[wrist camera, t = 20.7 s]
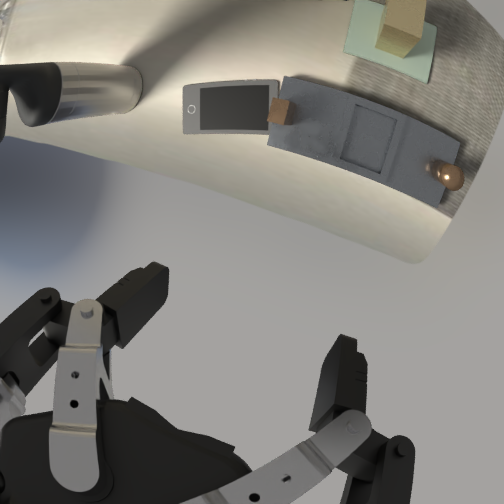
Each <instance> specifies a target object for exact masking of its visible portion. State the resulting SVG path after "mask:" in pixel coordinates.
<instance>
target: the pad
mask: <svg viewBox="0 0 504 504" xmlns="http://www.w3.org/2000/svg"><path fill="white" fill-rule="evenodd" d="M384 6H385V5H382V4H379V3H376V2H372V1H369V0H355V3H354V7H353V12H352V16H351V21H350V25H349V29H348V34H347V38H346V42H345V46H344V50H343V53H347V54H350V55H353V56H357V57H360V58H363V59H366V60H369V61H372V62H374V63H377V64H380V65H383V66H385V67H388V68H391V69H393V70H396V71H398V72H400V73H403V74H405V75H408V76H410V77H412V78H414V79H417V80H419V81H421V82H423V83H425V84H427V82H428V77H429V72H430V67H431V62H432V57H433V51H434V45H435V39H436V32H437V27H436V26H434V25H431V24H429V23H427V22H425V21H424V24H423V31H422V37H421V39H420V41H419V42H418V43H417V44H416V45H415V46H414V47H413V48H412V49H411V50H410V51H409V52H408V54H407V55H406V56H405V57H404V58H403V59H402V58H400V57H398V56H395V55H392V54H390V53H387V52H385V51H382V50H379V49H376V48H375V44H376V40H377V35H378V30H379V25H380V20H381V15H382V12H383V9H384Z"/></svg>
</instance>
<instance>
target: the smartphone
mask: <svg viewBox="0 0 504 504" xmlns="http://www.w3.org/2000/svg"><path fill="white" fill-rule="evenodd" d="M273 97H275V98H278V81H276V80H257V79H254V80H242V81H224V82H211V83H201V84H192V85H186V86H184V87H183V133H184V134H262V135H270V131H271V126H272V122H269V121H267V118H268V114H269V110H270V106H271V102H272V98H273Z"/></svg>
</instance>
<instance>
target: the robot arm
mask: <svg viewBox="0 0 504 504" xmlns="http://www.w3.org/2000/svg"><path fill="white" fill-rule="evenodd" d="M9 90H10V91H11V93H12V94H13V96H14V99H15V102H16V105H17V109H18V113H19V116H20V118H21V120H22V122H23V123H24V124H25V125H27V126H29V127H35V126H40V125H45V124H50V123H55V122H60V121H66V120H72V119H79V118H86V117H94V116H103V115H113V114H123V113H127V112H129V111H130V110H131V109H133V108H134V106H135V105H136V104H137V102H138V101H139V98H140V96H141V92H142V78H141V75H140V73H139V72H138V70H137V69H135V68H134V67H130V66H123V65H114V64H101V63H81V62H46V63H30V64H12V65H0V142H1V141H2V140H3V138H4V135H5V129H6V115H7V103H8V93H9V92H8V91H9ZM168 285H169V269H168V267H166V266H164V265H161V264H159V263H157V262H151V263H150V264H149V265H148V266H147V267H145V268H144V269H143V268H137V269H135V270H132V271H130V272H129V273H128V274H126V275H125V276H124V277H123V278H121V279H120V280H119V281H118V282H117V283H115V284H114V285H113V286H112V287H110V288H109V289H108V290H107V291H105V292H104V293H103V294H102V295H100V296H99V297H98V298H97V299H96V300H92V299H84V300H80V301H78V302H77V303H76V304H74V303H70V302H67V301H64V300H61V298H60V294H59V292H58V291H57V290H56V289H54V288H43V289H40V290H39V291H37V292H36V293H35V294H34V295H33V296H31V297H30V298H29V299H28V300H26V301H25V302H24V303H23V304H22V305H21V306H19V308H17V309H16V310H15V311H14V312H13V313H12V314H10V315H9V316H8V317H7V318H6V319H5V320H4V321H3V322H2V323H1V324H0V504H290V503H291V502H293V501H294V500H296V499H297V498H299V497H300V496H302V495H303V494H304V493H306V492H307V491H308V490H310V489H311V488H312V487H314V486H315V485H317V484H318V483H319V482H321V481H322V480H323V479H324V478H326V477H327V476H328V475H329V474H330V473H331V472H332V470H333V469H334V468H335V467H336V468H338V469H340V470H341V471H343V472H345V473H347V474H348V476H347V480H346V484H345V488H344V491H343V495H342V499H341V502H340V504H410V498H411V491H412V483H413V474H414V463H415V447H414V445H413V443H412V442H411V440H410V439H408V438H407V437H405V436H401V435H397V436H394V437H392V438H391V439H389V438H387V437H385V436H383V435H382V434H380V433H378V432H376V431H375V430H374V429H372V425H371V422H370V420H369V418H368V417H367V416H366V396H367V384H366V383H367V365H368V364H367V361H366V359H365V356H364V354H362V353H359V352H357V339H355V338H351V337H348V336H345V335H343V334H340V335H339V336H338V338H337V340H336V341H335V343H334V345H333V346H332V348H331V349H330V351H329V353H328V354H327V356H326V358H325V360H324V362H323V365H322V368H321V374H320V379H319V384H318V389H317V394H316V399H315V404H314V408H313V413H312V417H311V422H310V426H309V431H313V432H316V434H315V435H313V436H312V437H310V438H309V439H307V440H306V441H303V442H301V443H299V444H298V445H296V446H295V447H293V448H292V449H290V450H289V451H287V452H285V453H284V454H282V455H281V456H279V457H277V458H276V459H274V460H272V461H271V462H269V463H267V464H266V465H264V466H262V467H260V468H258V469H257V470H255V471H252V470H251V468H250V467H249V466H248V464H247V463H246V462H245V461H244V460H242V459H241V458H240V457H239V456H237V455H236V454H235V453H233V451H234V449H235V446H232V445H230V444H227V443H225V442H222V441H220V440H217V439H215V438H212V437H210V436H206V435H202V434H196V433H192V432H187V431H182V430H179V429H177V428H175V427H174V426H173V425H172V424H170V423H169V422H168V421H167V420H166V419H164V418H163V417H162V416H161V415H160V414H159V413H158V412H157V411H155V410H154V409H152V408H150V407H149V406H147V405H145V404H143V403H141V402H140V401H138V400H136V399H135V398H133V397H131V398H130V399H129V401H128V402H126V401H122V400H115V399H114V395H113V390H112V376H111V375H112V374H111V348H112V347H113V346H114V345H116V346H118V347H120V348H121V349H123V348H124V347H125V346H126V345H127V344H128V343H129V342H130V340H131V339H132V338H133V337H134V336H135V335H136V334H137V333H138V332H139V331H140V330H141V329H142V327H143V326H144V325H145V324H146V323H147V322H148V321H149V320H150V319H151V318H152V317H153V316H154V314H155V313H156V312H157V311H158V310H159V309H160V308H161V307H162V306H163V305H164V303H165V301H166V299H167V296H168ZM42 328H43V330H44V332H43V333H42V334H41V335H40V336H39V337H38V338H37V339H36V340H35V341H34V342H33V343H32V344H31V345H30V346H29V347H28V345H29V342H30V340H31V339H32V338H33V337H34V336H35V335H36V334H37V333H38V332H39V331H40V330H41V329H42ZM56 361H57V369H56V378H55V388H54V389H55V390H54V403H53V411H48V412H43V413H37V414H31V415H24V416H21V415H23V414H24V413H25V403H26V400H25V397H26V396H27V395H28V393H29V392H30V391H31V390H32V389H33V387H34V386H35V385H36V384H37V383H38V381H39V380H40V379H41V378H42V377H43V376H44V375H45V373H46V372H47V371H48V370H49V369H50V368H51V367H52V365H53V364H54V363H55V362H56Z"/></svg>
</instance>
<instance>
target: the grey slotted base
mask: <svg viewBox="0 0 504 504" xmlns="http://www.w3.org/2000/svg"><path fill="white" fill-rule="evenodd" d="M267 121H269V122H272V126H271V131H270V135H269V139H268V143H267V145H269V146H272V147H276V148H279V149H283V150H286V151H290V152H293V153H297V154H300V155H303V156H306V157H309V158H313V159H316V160H319V161H322V162H325V163H328V164H331V165H333V166H336V167H339V168H342V169H345V170H348V171H350V172H353V173H356V174H358V175H361V176H364V177H366V178H369V179H371V180H374V181H376V182H379V183H381V184H384V185H386V186H389V187H391V188H393V189H396V190H398V191H400V192H403V193H405V194H407V195H410V196H412V197H414V198H416V199H418V200H421V201H423V202H425V203H427V204H429V205H431V206H433V207H435V208H438V205H439V203H440V200H441V198H442V195H443V193H444V190H445V187H447V188H448V189H450V190H452V191H457V190H459V189H460V188H461V187H462V186H463V184H464V173H463V171H462V170H461V169H460V168H459V167H457V166H455V165H454V162H455V159H456V156H457V153H458V149H459V146H460V142H458V141H457V140H455V139H453V138H451V137H449V136H448V135H446V134H444V133H442V132H440V131H438V130H436V129H434V128H432V127H430V126H428V125H426V124H424V123H422V122H420V121H418V120H416V119H414V118H411V117H409V116H407V115H405V114H402V113H400V112H398V111H395V110H393V109H391V108H388V107H386V106H383V105H380V104H378V103H375V102H373V101H370V100H367V99H364V98H361V97H359V96H356V95H353V94H350V93H347V92H343V91H340V90H337V89H334V88H330V87H327V86H323V85H320V84H316V83H312V82H308V81H304V80H300V79H296V78H292V77H287V76H284V79H283V83H282V86H281V90H280V94H279V98H275V97H273V98H272V102H271V106H270V110H269V114H268V118H267Z"/></svg>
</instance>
